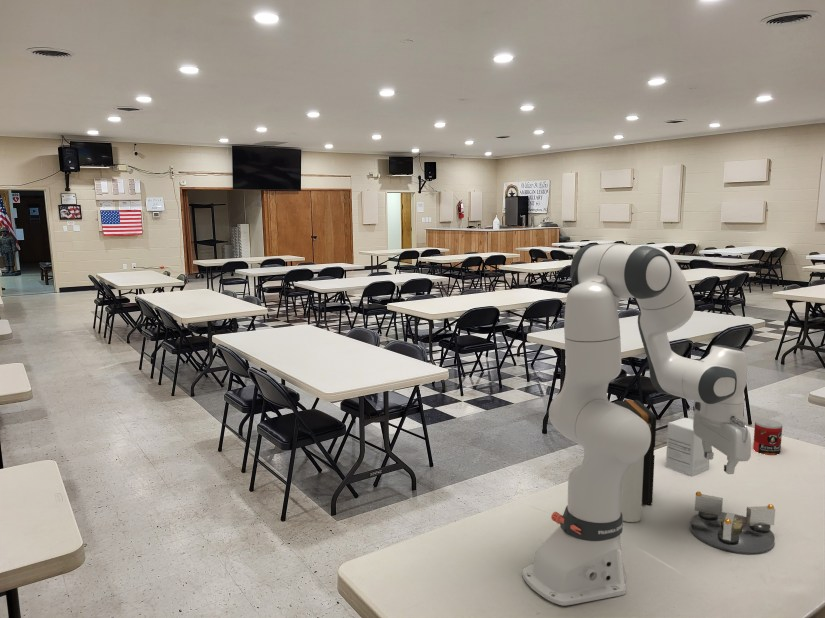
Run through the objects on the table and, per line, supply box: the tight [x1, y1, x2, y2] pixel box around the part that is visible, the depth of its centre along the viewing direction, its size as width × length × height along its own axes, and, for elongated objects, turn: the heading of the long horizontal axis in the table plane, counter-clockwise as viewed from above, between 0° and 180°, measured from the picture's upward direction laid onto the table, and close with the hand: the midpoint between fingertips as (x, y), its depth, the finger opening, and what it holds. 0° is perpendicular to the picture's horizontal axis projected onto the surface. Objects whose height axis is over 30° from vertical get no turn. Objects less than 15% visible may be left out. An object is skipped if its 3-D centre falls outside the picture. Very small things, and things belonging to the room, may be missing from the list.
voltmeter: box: [613, 399, 657, 506], centre depth 171 cm, size 16×9×25 cm, turn 178°
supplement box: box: [665, 417, 710, 477], centre depth 187 cm, size 9×9×15 cm
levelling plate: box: [689, 511, 775, 555], centre depth 149 cm, size 18×18×4 cm
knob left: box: [694, 491, 724, 521], centre depth 155 cm, size 6×4×6 cm
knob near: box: [718, 511, 739, 544], centre depth 144 cm, size 6×4×6 cm
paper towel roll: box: [621, 456, 644, 523], centre depth 157 cm, size 7×6×21 cm
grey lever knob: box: [745, 503, 776, 533], centre depth 148 cm, size 6×4×6 cm
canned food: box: [752, 418, 783, 456], centre depth 199 cm, size 8×8×11 cm
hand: (718, 465), depth 153 cm, fingers open, 8 cm apart
